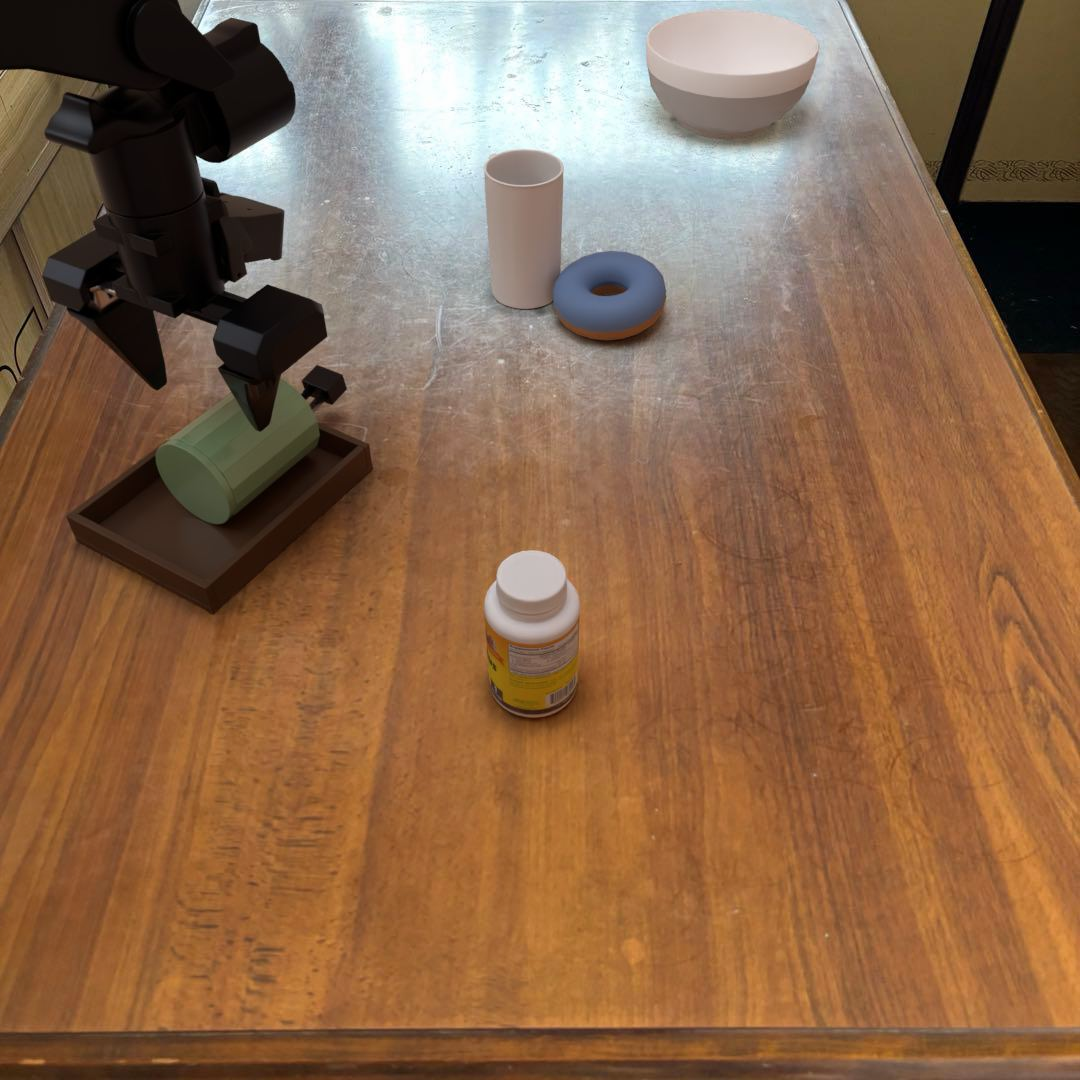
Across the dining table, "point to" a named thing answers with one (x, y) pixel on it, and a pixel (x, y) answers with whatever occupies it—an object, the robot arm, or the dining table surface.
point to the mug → (524, 225)
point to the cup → (235, 454)
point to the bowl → (729, 69)
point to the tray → (215, 549)
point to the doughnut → (609, 314)
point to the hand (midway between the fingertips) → (210, 406)
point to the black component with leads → (322, 386)
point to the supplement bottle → (532, 635)
